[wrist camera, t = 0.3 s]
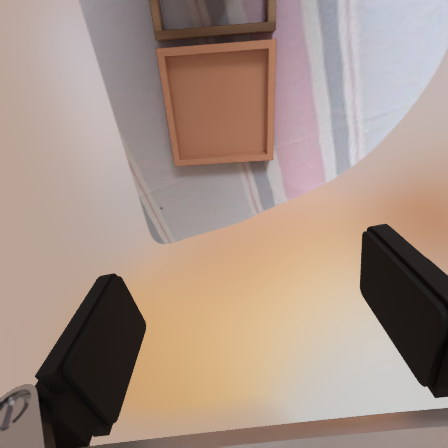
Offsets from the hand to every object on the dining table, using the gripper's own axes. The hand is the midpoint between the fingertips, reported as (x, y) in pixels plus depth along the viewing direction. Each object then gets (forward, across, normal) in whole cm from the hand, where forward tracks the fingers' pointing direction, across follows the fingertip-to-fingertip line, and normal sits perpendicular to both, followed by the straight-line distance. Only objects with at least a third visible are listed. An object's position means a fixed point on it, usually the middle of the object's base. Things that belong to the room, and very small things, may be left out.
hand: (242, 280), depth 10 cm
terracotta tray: (+30, 0, -4) cm, 30 cm away
